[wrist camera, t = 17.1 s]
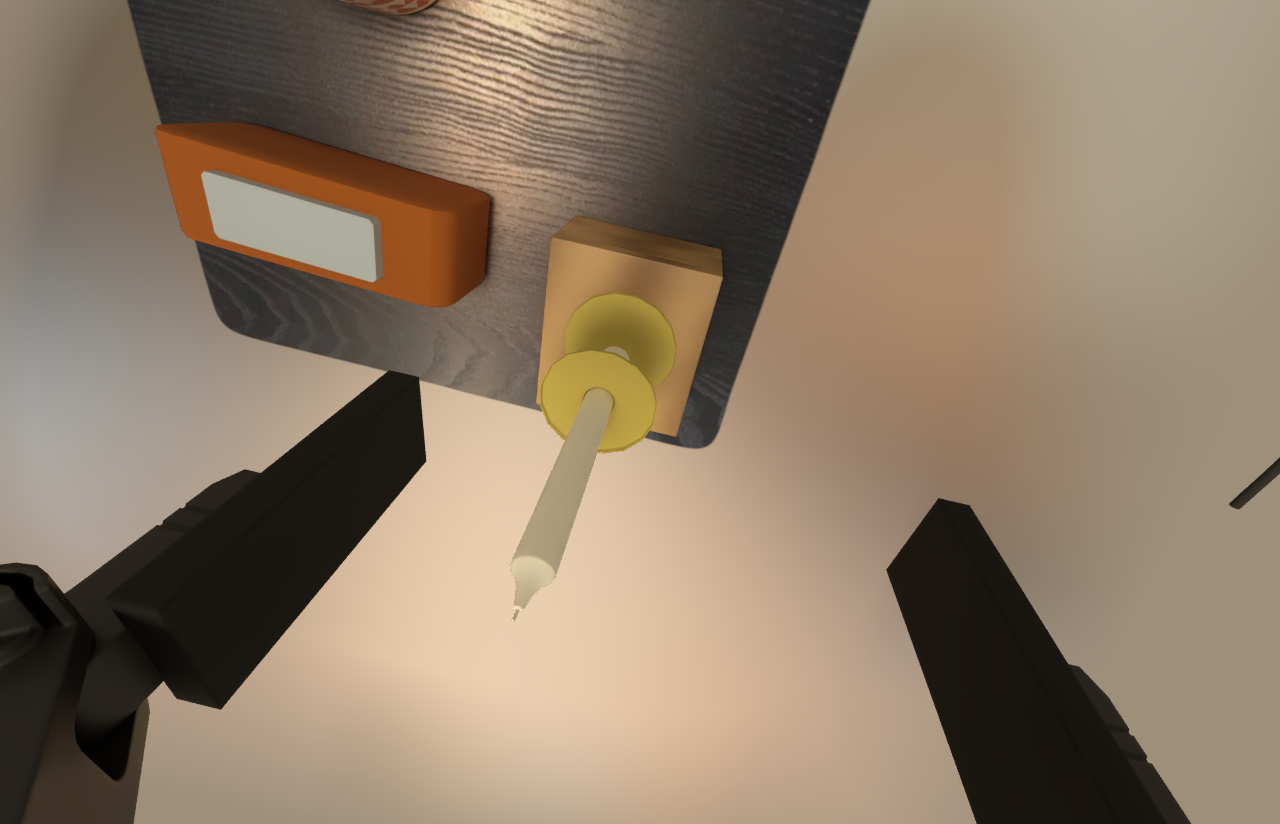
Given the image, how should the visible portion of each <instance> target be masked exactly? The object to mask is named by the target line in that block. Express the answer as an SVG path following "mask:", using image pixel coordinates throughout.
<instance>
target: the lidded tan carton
mask: <svg viewBox="0 0 1280 824" xmlns="http://www.w3.org/2000/svg"><path fill="white" fill-rule="evenodd" d="M722 280H723V269H722V254H721V249H717V248H713V247H709V246H705V245H700V244H696V243H692V242H687V241H683V240H679V239H675V238H670V237H666V236H662V235H658V234H653V233H649V232H645V231H641V230H636V229H632V228H628V227H624V226H619V225H615V224H611V223H607V222H602V221H598V220H594V219H590V218H585V217H581V216H577V217H575V218H574V219H573V220H572V221H570V222H569V223H568V224H567V225H565V226H564V227H563V228H561V229H560V230H559V231H558V232H556V233H555V234H554V235H553V236H552V237H551V242H550V254H549V265H548V276H547V287H546V298H545V309H544V321H543V332H542V343H541V354H540V365H539V376H538V388H537V399H536V404H540V384H541V382H542V380H543V378H544V376H545V375H546V373H547V371H548V369H549V367H550V366H551V365H552V364H553V363H555V362H556V361H558V360H559V359H561V358H562V357H563V356H565V355H566V352H565V349H564V344H565V328H566V326H567V324H568V322H569V320H570V318H571V317H572V315H573V313H574V311H575V309H577V308H578V307H579V306H581V305H582V304H583V303H585V302H586V301H587V300H589V299H590V298H591V297H593V296H597V295H602V294H606V293H610V292H620V293H626V294H632V295H637V296H639V297H641V298H643V299H644V300H646V301H648V302H649V303H651V304H653V305H654V306H656V307H657V308H659V310H660V311H661V312H662V314H663V315H664V316H665V318H666V319H667V321H668V322H669V323H670V325H671V326H672V329H673V334H674V338H675V342H676V346H677V348H676V354H675V359H674V364H673V368H672V370H671V371H670V372H669V374H668V375H667V377H666V378H665V379H664V381H663V382H662V384H660V385H659V386H657V387H655V388H654V389H653V390H654V394H655V398H656V401H657V409H656V415H655V420H654V425H653V427H652V428H651V429H650V431H654V432H658V433H663V434H667V435H671V436H677V432H678V429H679V425H680V422H681V419H682V415H683V412H684V408H685V405H686V402H687V398H688V395H689V391H690V388H691V385H692V381H693V378H694V375H695V371H696V368H697V364H698V361H699V358H700V354H701V351H702V347H703V344H704V341H705V337H706V334H707V330H708V327H709V324H710V320H711V317H712V313H713V310H714V307H715V303H716V300H717V297H718V293H719V290H720V286H721V283H722Z"/></svg>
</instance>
